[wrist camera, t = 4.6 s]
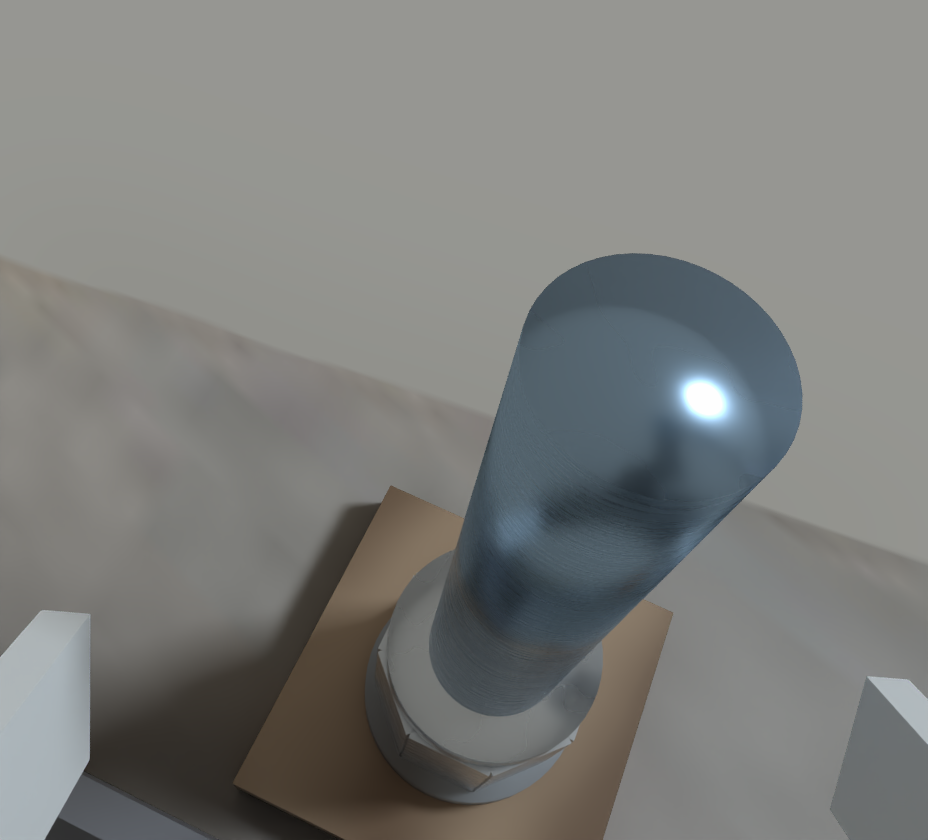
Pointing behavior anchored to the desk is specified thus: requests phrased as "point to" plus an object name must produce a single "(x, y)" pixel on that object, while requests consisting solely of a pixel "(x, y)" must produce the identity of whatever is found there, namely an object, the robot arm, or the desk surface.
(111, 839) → the bin
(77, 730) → the robot arm
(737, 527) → the desk surface
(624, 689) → the stud base
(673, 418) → the strut
